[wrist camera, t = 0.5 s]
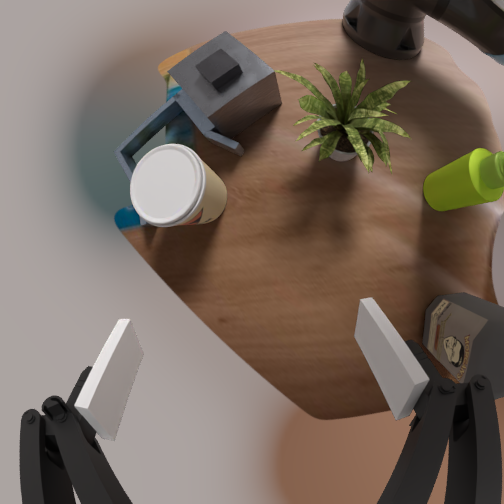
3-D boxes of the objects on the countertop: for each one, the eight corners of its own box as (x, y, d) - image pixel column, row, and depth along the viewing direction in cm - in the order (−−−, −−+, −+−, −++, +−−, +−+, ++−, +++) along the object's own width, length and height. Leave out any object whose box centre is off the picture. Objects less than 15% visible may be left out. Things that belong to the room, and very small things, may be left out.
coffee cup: (170, 227, 40) (123, 223, 28) (178, 166, 39) (134, 144, 28) (229, 232, 38) (196, 230, 27) (236, 167, 38) (208, 140, 26)
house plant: (270, 178, 37) (244, 137, 21) (292, 95, 35) (280, 24, 19) (369, 205, 34) (414, 182, 18) (384, 118, 33) (420, 58, 17)
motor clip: (295, 117, 36) (290, 78, 25) (154, 228, 41) (109, 226, 30) (233, 57, 37) (214, 17, 26) (114, 157, 42) (71, 141, 31)
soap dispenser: (452, 222, 32) (543, 212, 12) (417, 198, 33) (502, 167, 13) (462, 189, 31) (548, 161, 11) (429, 164, 32) (508, 116, 12)
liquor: (470, 290, 31) (613, 346, 2) (463, 344, 32) (575, 437, 2) (424, 295, 33) (577, 383, 4) (418, 352, 34) (522, 483, 4)
